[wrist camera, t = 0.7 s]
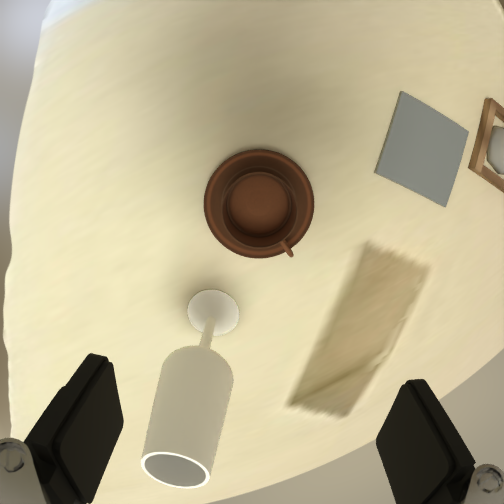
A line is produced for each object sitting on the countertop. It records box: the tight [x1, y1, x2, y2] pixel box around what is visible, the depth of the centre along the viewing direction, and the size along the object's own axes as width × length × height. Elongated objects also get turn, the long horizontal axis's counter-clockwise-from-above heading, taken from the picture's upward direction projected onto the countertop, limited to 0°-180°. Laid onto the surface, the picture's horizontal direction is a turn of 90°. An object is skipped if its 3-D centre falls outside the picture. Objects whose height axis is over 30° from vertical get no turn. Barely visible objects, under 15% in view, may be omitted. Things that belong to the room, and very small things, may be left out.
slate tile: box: [374, 91, 469, 207], centre depth 34 cm, size 11×11×1 cm
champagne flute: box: [141, 290, 239, 488], centre depth 29 cm, size 7×7×24 cm
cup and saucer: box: [204, 150, 314, 258], centre depth 33 cm, size 12×12×6 cm
